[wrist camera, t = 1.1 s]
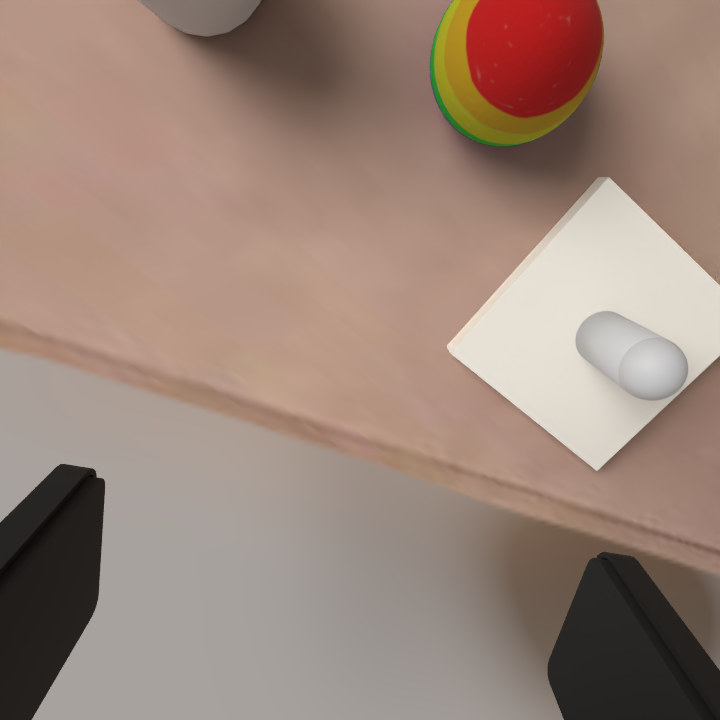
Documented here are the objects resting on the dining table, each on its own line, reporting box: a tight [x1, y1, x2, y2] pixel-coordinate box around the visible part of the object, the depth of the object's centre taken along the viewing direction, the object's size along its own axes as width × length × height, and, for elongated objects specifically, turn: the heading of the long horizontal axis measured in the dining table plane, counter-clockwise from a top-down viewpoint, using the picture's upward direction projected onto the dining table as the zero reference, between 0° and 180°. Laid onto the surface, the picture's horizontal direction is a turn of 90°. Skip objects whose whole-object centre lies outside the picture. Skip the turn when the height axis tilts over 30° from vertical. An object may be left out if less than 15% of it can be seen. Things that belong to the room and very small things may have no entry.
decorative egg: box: [430, 0, 604, 146], centre depth 27 cm, size 8×8×10 cm
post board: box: [447, 177, 720, 471], centre depth 32 cm, size 14×14×9 cm
